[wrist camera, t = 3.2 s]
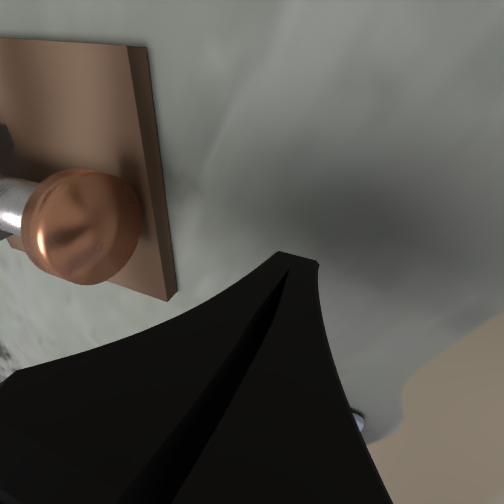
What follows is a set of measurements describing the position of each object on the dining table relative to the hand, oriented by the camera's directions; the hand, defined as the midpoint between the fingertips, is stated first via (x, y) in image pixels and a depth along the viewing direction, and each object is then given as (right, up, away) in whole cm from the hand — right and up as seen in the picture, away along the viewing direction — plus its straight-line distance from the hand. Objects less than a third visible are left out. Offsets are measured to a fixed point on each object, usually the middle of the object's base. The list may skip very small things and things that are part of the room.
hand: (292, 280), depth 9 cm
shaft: (-11, +4, +5) cm, 12 cm away
